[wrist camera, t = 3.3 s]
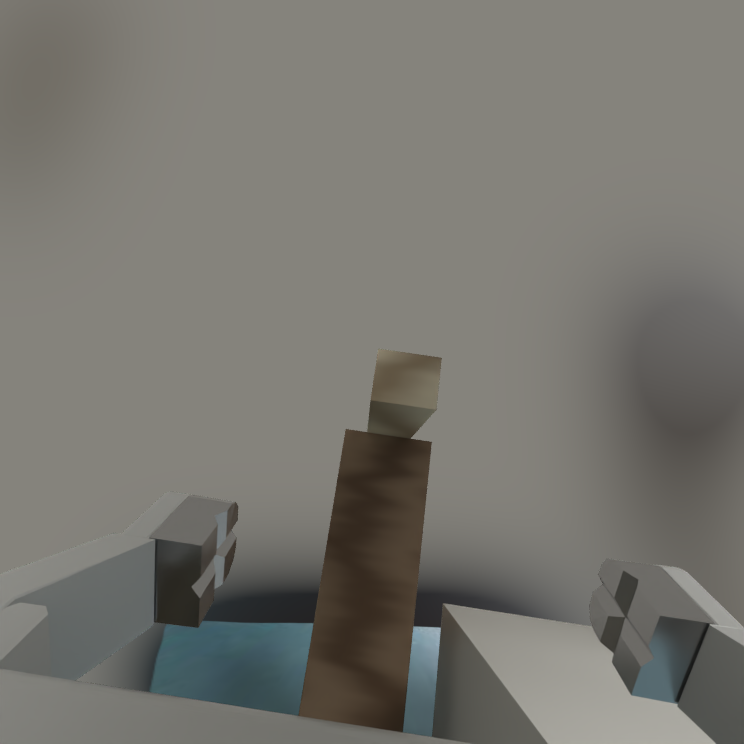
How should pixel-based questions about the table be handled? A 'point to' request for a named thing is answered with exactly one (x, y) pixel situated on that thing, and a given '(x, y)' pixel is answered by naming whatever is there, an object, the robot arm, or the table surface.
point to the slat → (403, 392)
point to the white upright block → (541, 686)
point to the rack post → (369, 584)
